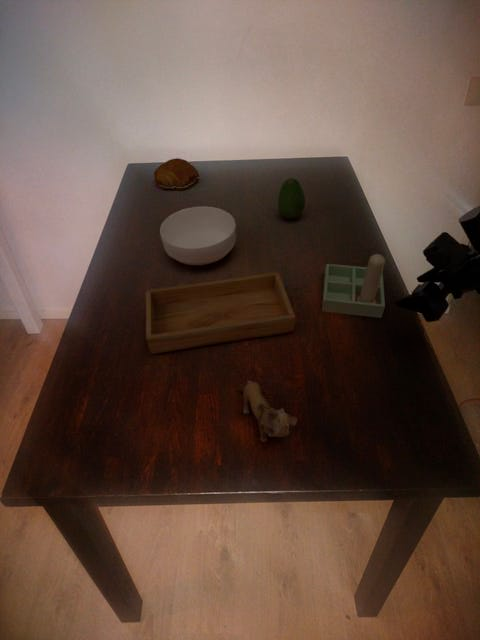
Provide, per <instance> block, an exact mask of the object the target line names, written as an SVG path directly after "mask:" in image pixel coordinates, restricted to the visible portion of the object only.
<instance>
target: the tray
mask: <svg viewBox="0 0 480 640" xmlns="http://www.w3.org/2000/svg"><path fill="white" fill-rule="evenodd" d="M145 314H146V315H145V322H146V323H145V335H146V336H145V339H146V342H147V346H148V348H149V352H150V353H151V355H154V354H161V353H167V352H172V351H180V350H185V349H191V348H197V347H205V346H212V345H218V344H223V343H231V342H238V341H244V340H251V339H258V338H264V337H265V338H266V337H270V336H271V337H272V336H277V335H284V334H290V333H294V332H295V327H296V326H295V324H296V314H295V312H294V309H293V307H292V304H291V301H290V299H289V297H288V294H287V291H286V289H285V286H284V283H283V281H282V278H281V276H280V274H279V272H278V271H277V272H276V271H275V272H267V273H260V274H253V275H246V276H238V277H231V278H224V279H217V280H209V281H203V282H195V283H188V284H179V285H173V286H166V287H159V288H151V289H147V290H146V289H145Z"/></svg>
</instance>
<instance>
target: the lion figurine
mask: <svg viewBox="0 0 480 640" xmlns="http://www.w3.org/2000/svg"><path fill="white" fill-rule="evenodd" d="M237 391H238V392H239V393H243V400H244V401H243V409H242V410H243V411H242V412H243V415H246V416H247V415H249V414H250V408H251V411H252V413H253V415H254V417H255V418H256V420H257V425H258V430H259V434H260V436H259V439H260V441H261V442H263V443H265V442H267V441H268V437H269V438H275V437H277V438H284V437H287V436H288V435H290V428H293V426H296V425H297V422H298V417H296V416H291V415H290V414H289V413H286V412H285V409H284V408H283V407H281V408H280V409H275V408H274V407H271V406H270V404H269V403H268V401H267V400H266V399H265V397H264V396H263V394H262V388H261V385H260V384H259V382H257V381H252V380H248V381H247V382H246V384H245V386H244V388H237ZM249 403H250V407H249Z"/></svg>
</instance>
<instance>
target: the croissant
mask: <svg viewBox="0 0 480 640" xmlns="http://www.w3.org/2000/svg"><path fill="white" fill-rule="evenodd" d="M153 175H154V177H153V178H154V182H155V184H156V183H157V184H158V185H162V186H164V187H173V186H176V187H184V186H187V185H189V184H191V183H193V182H194V181H195V180H196V179H197V177H198V178H199V177H200V173H199V172H198V170H197V169H196V167H195V166H194V165H192V164H191V163H190V162H188V160H186V159H183V158H180V157H175V158H171V159H168V160H167V161H164V163H162V164H160V165H159V166H158V167H157V168H155V170H154V172H153ZM157 184H156V185H157ZM158 185H157V186H158ZM193 185H195V183H193V184H191V185H190V186H188V187H185V188H176V187H175V188H162V187H161V186H158V188H159V189H161V190H174V191H178V192H179V191H183V190H185V189H188V188H189V187H192V186H193Z"/></svg>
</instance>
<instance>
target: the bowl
mask: <svg viewBox="0 0 480 640" xmlns="http://www.w3.org/2000/svg"><path fill="white" fill-rule="evenodd" d="M159 235H160V239H161V242H162V246H163V249H164V251H165V253H166V254H167V256H169V257H170V258H172V259H174V260H175V261H178V262H179V263H182V264H184V265H189V266H204V265H209V264H213V263H215V262H217V261H219V260H222V259H224V257H226V256H227V255H228V254H229V253H230V252H231V251H232V249H233V248H234V246H235V245H236V241H237V224H236V220H235V218H234V216H233V215H232V214H231V213H229V212H228V211H227V210H224V209H221V208H219V207H216V206H215V207H214V206H208V205H207V206H202V205H201V206H191V207H186V208H183V209H180V210H178V211H176V212H174V213H172V214H170V215H169V216H168V217H166V218H165V219H164V220H163V221H162V223H161V225H160V227H159Z"/></svg>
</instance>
